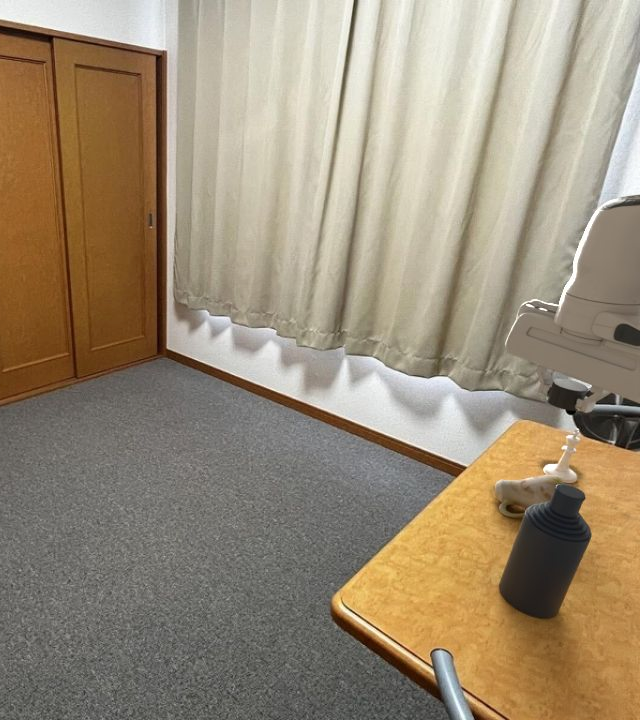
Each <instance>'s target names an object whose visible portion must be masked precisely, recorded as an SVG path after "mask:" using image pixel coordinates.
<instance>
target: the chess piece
mask: <svg viewBox="0 0 640 720" xmlns="http://www.w3.org/2000/svg"><path fill="white" fill-rule="evenodd" d="M579 433H580V429H579V428H577V427H575V429H574V431H573V432H572V434H571V435H570V434H569V435H566V437H565V440H566V445H563V446H562V447H561V450H562V451H563V454H562V456H561V457H560V459H559V461H558V462H557V463H555V464H554V463H550V464H546V465H545V466H544V467H543V473H544V475H557V476H561V477H562V479H563V484H574V483H576V482H577V479H578V474H577V473H576V472H575V471H574V470H572V469H571V468H570V462H571V457H572V454H573V455H574V454H577V452H578V451H577V449H576V447H577V446H578V444H580V443H581V438H579V437H578V434H579Z"/></svg>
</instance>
